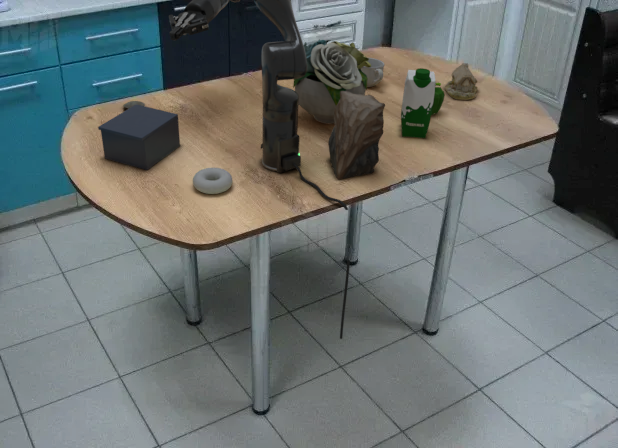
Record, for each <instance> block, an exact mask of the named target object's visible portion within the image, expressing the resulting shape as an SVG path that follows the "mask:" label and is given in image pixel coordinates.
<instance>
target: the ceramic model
mask: <svg viewBox="0 0 618 448" xmlns="http://www.w3.org/2000/svg"><path fill="white" fill-rule="evenodd" d="M477 84H478V79H477V78H476V77H475V76H474V74H473V73H472V72H471V70H470V68H469V64H468V62H467V63H466V62H465V63H464V62H463V63H461V64H460V65H459V66H457V67H456V68H455V69H454V70H452V72H451V80H449V81H447V83H446V84H445V87H444V90H445V91H446V93H447V95H449V96H450V98H452V99H454V100H461V101H462V100H463V101H464V100H465V101H467V100H473V99H475V98H476V97H477V95H476V94H477V92H478V86H476V85H477Z"/></svg>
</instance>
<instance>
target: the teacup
mask: <svg viewBox="0 0 618 448" xmlns="http://www.w3.org/2000/svg"><path fill="white" fill-rule="evenodd" d="M366 57H367V56H366ZM367 58H369V60H368V61H367V62H369V63H370V64H371V67H369V68H368V67H365V66H364V67H362V68H361V71H362V72H363V73H364V74H366V76H367V78H368V80H367V88H372V87H373V88H374V87H375V86H376V85H378V84H380V82H381V81H383V79H384V68H385V62H384V61H382V60H380V59H378V58H373V57H367Z"/></svg>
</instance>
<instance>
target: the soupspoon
mask: <svg viewBox="0 0 618 448" xmlns="http://www.w3.org/2000/svg"><path fill="white" fill-rule="evenodd" d="M136 104H137V105H141V106H145V107H146V104H145V103H144V102H143V101H139V100H131V101H130V100H129V101H127V102H126V103H124V104H123V105H122V107H123V108H125V109H129V108H131V107H133V106H134V105H136Z"/></svg>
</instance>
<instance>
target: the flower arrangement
mask: <svg viewBox="0 0 618 448" xmlns="http://www.w3.org/2000/svg"><path fill="white" fill-rule="evenodd" d="M303 45H304V49H305V52H306V58H307V72H306V74H305V76H304V77H302V78H299V79H293V86H292V87H293V88H292V89H294V91H295V92H297V94H298V96H299V107H301V108H302V109H303V110H304V111H305V112H307V113H308V114H309V115H310V116H311V115H312V116H313V117H314V120H315V121H317V122H319V123H321V124H328V125H329V124H331V125H334V111H335V108H336V105H337V104H338V102H339V100H340V92H341V91H348V92H351V93H352V94H361V95H365V96H366V91H367V90H368V89H367V88H368V87H367V80H368V78H367V76H366V74H364V73H363V72H362V71H361V68H362V67H364V66H365V67H368V68H369V67H371V64H370V63H369V62H367V61H368V60H369V58H370V57H368V58H367V56H365V55H364V53H363V52H362V51H361V50H359V49H358V48H356V44H355V42H351V43H348V44H346V43H344V42H339V41H336V40H334V41H332V39H327V40H326V39H318V40H316V41H315V42H312V43H309V44H308V42H307V41H304V43H303Z"/></svg>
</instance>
